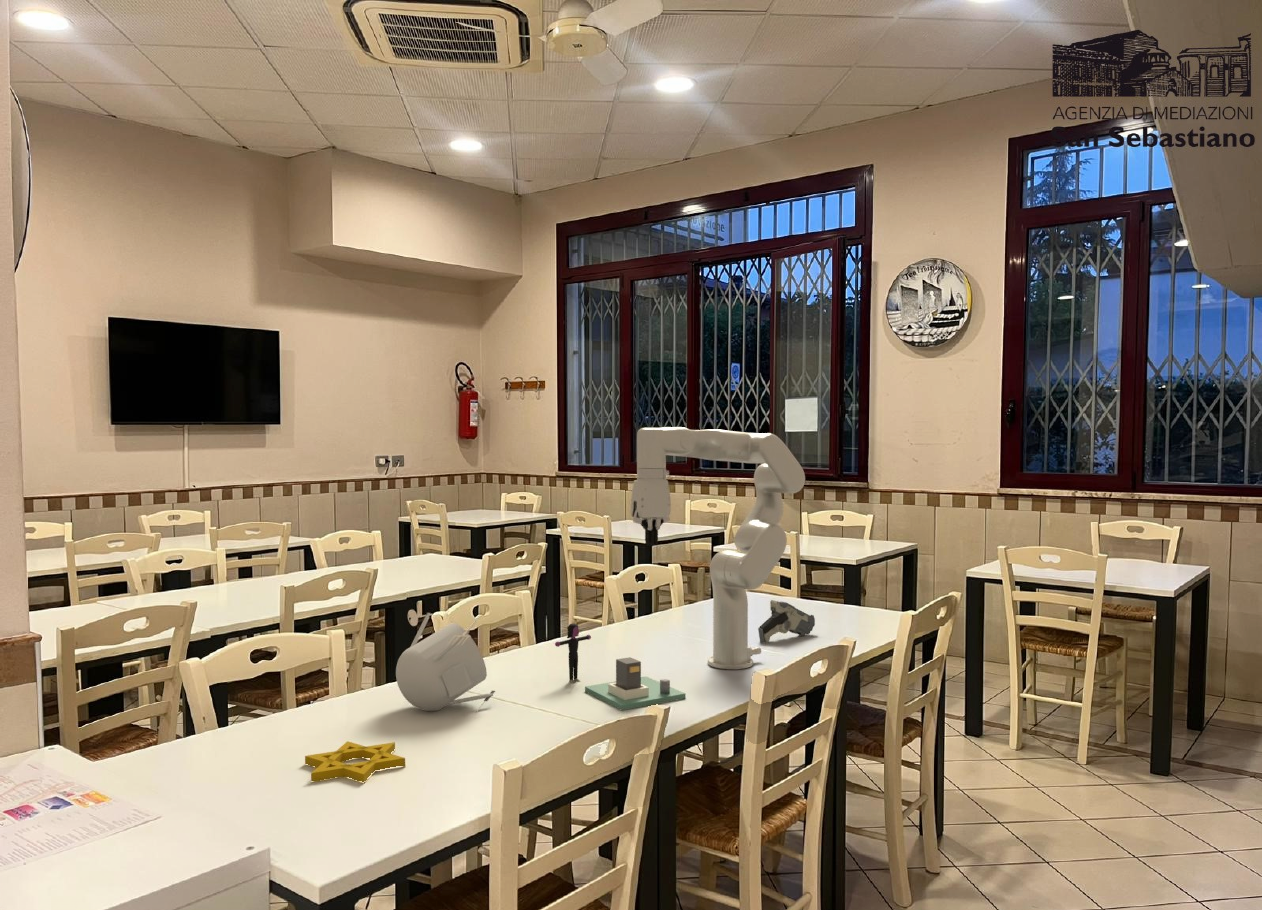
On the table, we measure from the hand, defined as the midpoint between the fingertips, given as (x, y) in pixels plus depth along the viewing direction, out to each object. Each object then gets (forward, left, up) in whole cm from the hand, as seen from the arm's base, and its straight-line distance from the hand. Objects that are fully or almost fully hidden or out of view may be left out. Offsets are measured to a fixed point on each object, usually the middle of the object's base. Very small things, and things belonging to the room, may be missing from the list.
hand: (651, 544), depth 238 cm
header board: (+12, +11, -35) cm, 39 cm away
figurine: (+19, -8, -35) cm, 41 cm away
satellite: (+56, -4, -35) cm, 66 cm away
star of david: (+83, +23, -36) cm, 93 cm away
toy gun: (-61, -16, -36) cm, 72 cm away
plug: (+15, +13, -34) cm, 39 cm away
